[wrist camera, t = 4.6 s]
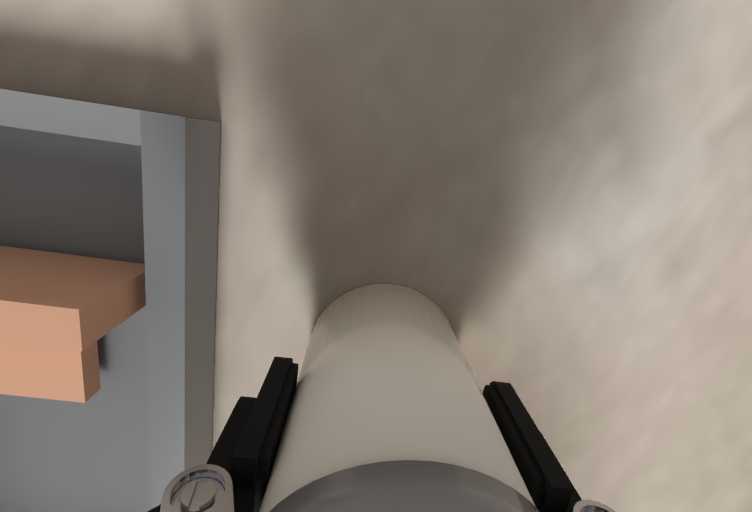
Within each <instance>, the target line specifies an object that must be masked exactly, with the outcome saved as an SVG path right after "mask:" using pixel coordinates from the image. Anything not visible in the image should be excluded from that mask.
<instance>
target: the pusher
mask: <svg viewBox="0 0 752 512" xmlns="http://www.w3.org/2000/svg"><path fill="white" fill-rule="evenodd" d="M145 306H146V292H145V264H141V263H133V262H125V261H118V260H110V259H102V258H94V257H86V256H78V255H70V254H62V253H55V252H47V251H39V250H31V249H23V248H15V247H7V246H0V394H4V395H14V396H24V397H33V398H43V399H53V400H63V401H72V402H82V403H86V402H87V401H88V400H89V399H90V398H91V397H92V396H93V395H94V394H95V393H97V392H98V391H99V390H100V389H101V386H100V373H99V359H98V345H97V340H99V339H100V338H101V337H103V336H104V335H106V334H107V333H108V332H110V331H111V330H113V329H114V328H115V327H117V326H118V325H120V324H121V323H122V322H124V321H125V320H126V319H128V318H129V317H131V316H132V315H133V314H135V313H136V312H138V311H139V310H140V309H142V308H143V307H145Z"/></svg>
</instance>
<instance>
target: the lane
mask: <svg viewBox="0 0 752 512" xmlns="http://www.w3.org/2000/svg"><path fill="white" fill-rule="evenodd" d="M220 139H221V123H219V122H213V121H207V120H201V119H195V118H189V117H183V116H176V115H170V114H163V113H157V112H150V111H144V110H136V109H130V108H123V107H117V106H110V105H104V104H97V103H91V102H84V101H78V100H71V99H64V98H58V97H51V96H45V95H38V94H32V93H25V92H19V91H12V90H6V89H0V246H7V247H15V248H23V249H31V250H39V251H47V252H55V253H62V254H70V255H78V256H86V257H94V258H102V259H110V260H118V261H125V262H133V263H141V264H145V292H146V306H145V307H143V308H142V309H140V310H139V311H138V312H136V313H135V314H133V315H132V316H131V317H129V318H128V319H126V320H125V321H124V322H122V323H121V324H120V325H118V326H117V327H115V328H114V329H113V330H111V331H110V332H108V333H107V334H106V335H104V336H103V337H101V338H100V339H99V340H97V345H98V359H99V373H100V386H101V389H100V390H99V391H98V392H97V393H95V394H94V395H93V396H92V397H91V398H90V399H89V400H88V401H87V402H86V403H82V402H72V401H63V400H53V399H43V398H33V397H24V396H14V395H4V394H0V512H147V511H149V510H151V509H153V508H155V507H157V506H159V505H160V504H161V500H162V496H163V493H164V490H165V488H166V487H167V485H168V484H169V482H170V481H171V480H172V479H173V478H174V477H176V476H177V475H178V474H179V473H181V472H183V471H184V470H186V469H188V468H191V467H194V466H197V465H204V464H206V463H207V461H208V459H209V457H210V455H211V453H212V430H213V394H214V357H215V321H216V284H217V248H218V212H219V175H220Z"/></svg>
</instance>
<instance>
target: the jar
mask: <svg viewBox="0 0 752 512" xmlns="http://www.w3.org/2000/svg"><path fill="white" fill-rule="evenodd" d="M259 512H540V511H539V510H538V509H537V508H536V507H535V504H534V502H533V500H532V498H531V496H530V494H529V492H528V490H527V487H526V485H525V483H524V481H523V479H522V477H521V475H520V473H519V470H518V468H517V466H516V464H515V462H514V460H513V458H512V456H511V453H510V451H509V449H508V447H507V445H506V443H505V441H504V438H503V436H502V434H501V432H500V430H499V428H498V426H497V424H496V421H495V419H494V417H493V415H492V413H491V411H490V409H489V407H488V404H487V402H486V400H485V398H484V396H483V394H482V392H481V390H480V387H479V385H478V383H477V381H476V379H475V377H474V375H473V372H472V370H471V368H470V366H469V364H468V362H467V360H466V358H465V355H464V353H463V351H462V349H461V347H460V345H459V343H458V341H457V338H456V336H455V334H454V332H453V330H452V328H451V326H450V324H449V321H448V319H447V318H446V316H445V314H444V313H443V311H442V310H441V309H440V308H439V307H438V306H437V305H436V304H435V303H434V302H433V301H432V300H431V299H430V298H428V297H427V296H425V295H423V294H422V293H420V292H418V291H416V290H414V289H411V288H408V287H405V286H401V285H396V284H384V283H383V284H371V285H366V286H362V287H359V288H355V289H353V290H351V291H348V292H346V293H344V294H343V295H341V296H340V297H338V298H337V299H335V300H334V301H333V302H332V303H330V304H329V305H328V307H327V308H326V309H325V310H324V311H323V312H322V314H321V315H320V316H319V318H318V320H317V322H316V324H315V326H314V328H313V331H312V334H311V337H310V341H309V344H308V348H307V351H306V354H305V358H304V361H303V365H302V368H301V371H300V375H299V378H298V382H297V385H296V389H295V392H294V396H293V399H292V403H291V406H290V409H289V413H288V416H287V420H286V423H285V427H284V430H283V433H282V437H281V440H280V444H279V447H278V450H277V454H276V457H275V461H274V464H273V467H272V471H271V474H270V478H269V481H268V484H267V488H266V491H265V495H264V497H263V501H262V504H261V507H260V511H259Z"/></svg>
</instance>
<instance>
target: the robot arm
mask: <svg viewBox="0 0 752 512" xmlns="http://www.w3.org/2000/svg"><path fill="white" fill-rule="evenodd" d="M297 375H298V364H295V363H293V359H292V358H283V357H275V358H274V360H273V362H272V364H271V367H270V369H269V371H268V374H267V376H266V378H265V380H264V383H263V385H262V387H261V390H260V392H259V394H258V397H257V398H252V397H243V396H241V397H240V398H239V400H238V402H237V403H236V405H235V407H234V409H233V411H232V413H231V415H230V417H229V419H228V421H227V423H226V425H225V427H224V429H223V431H222V433H221V435H220V437H219V439H218V441H217V443H216V445H215V447H214V449H213V451H212V453H211V455H210V457H209V459H208V461H207V463H206V464H204V465H197V466H194V467H191V468H188V469H186V470H184V471H183V472H181V473H179V474H178V475H177V476H176V477H174V478H173V479H172V480H171V481H170V482H169V484H168V485H167V487H166V488H165V490H164V493H163V496H162V500H161V504H160V505H159V506H157V507H155V508H153V509H151V510H149V511H147V512H259V511H260V507H261V504H262V501H263V497H264V495H265V491H266V488H267V484H268V481H269V478H270V474H271V471H272V467H273V464H274V461H275V457H276V454H277V450H278V447H279V444H280V440H281V437H282V433H283V430H284V427H285V423H286V420H287V416H288V413H289V409H290V406H291V403H292V399H293V396H294V392H295V389H296V385H297ZM483 396H484V398H485V400H486V402H487V404H488V407H489V409H490V411H491V413H492V415H493V417H494V419H495V421H496V424H497V426H498V428H499V430H500V432H501V434H502V436H503V438H504V441H505V443H506V445H507V447H508V449H509V451H510V453H511V456H512V458H513V460H514V462H515V464H516V466H517V468H518V470H519V473H520V475H521V477H522V479H523V481H524V483H525V485H526V487H527V490H528V492H529V494H530V496H531V498H532V500H533V502H534V504H535V507H536V508H537V509H538V510H539V511H540V512H615V511H614V510H612V509H611V508H610V507H608V506H606V505H604V504H602V503H600V502H596V501H592V500H582V499H581V498H580V496H579V495H578V493H577V491H576V490H575V488H574V486H573V485H572V483H571V481H570V480H569V478H568V476H567V475H566V473H565V472H564V470H563V468H562V467H561V465H560V463H559V462H558V460H557V458H556V457H555V455H554V453H553V452H552V450H551V449H550V447H549V445H548V444H547V442H546V440H545V439H544V437H543V435H542V434H541V432H540V431H539V430H538V428H537V427H536V425H535V423H534V422H533V420H532V418H531V417H530V415H529V413H528V412H527V410H526V408H525V407H524V405H523V403H522V402H521V400H520V399H519V397H518V395H517V394H516V392H515V390H514V389H513V387H512V385H511V384H510V383H503V382H495V381H492V382H491V383H490V385H486V386H485V387H484V391H483Z"/></svg>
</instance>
